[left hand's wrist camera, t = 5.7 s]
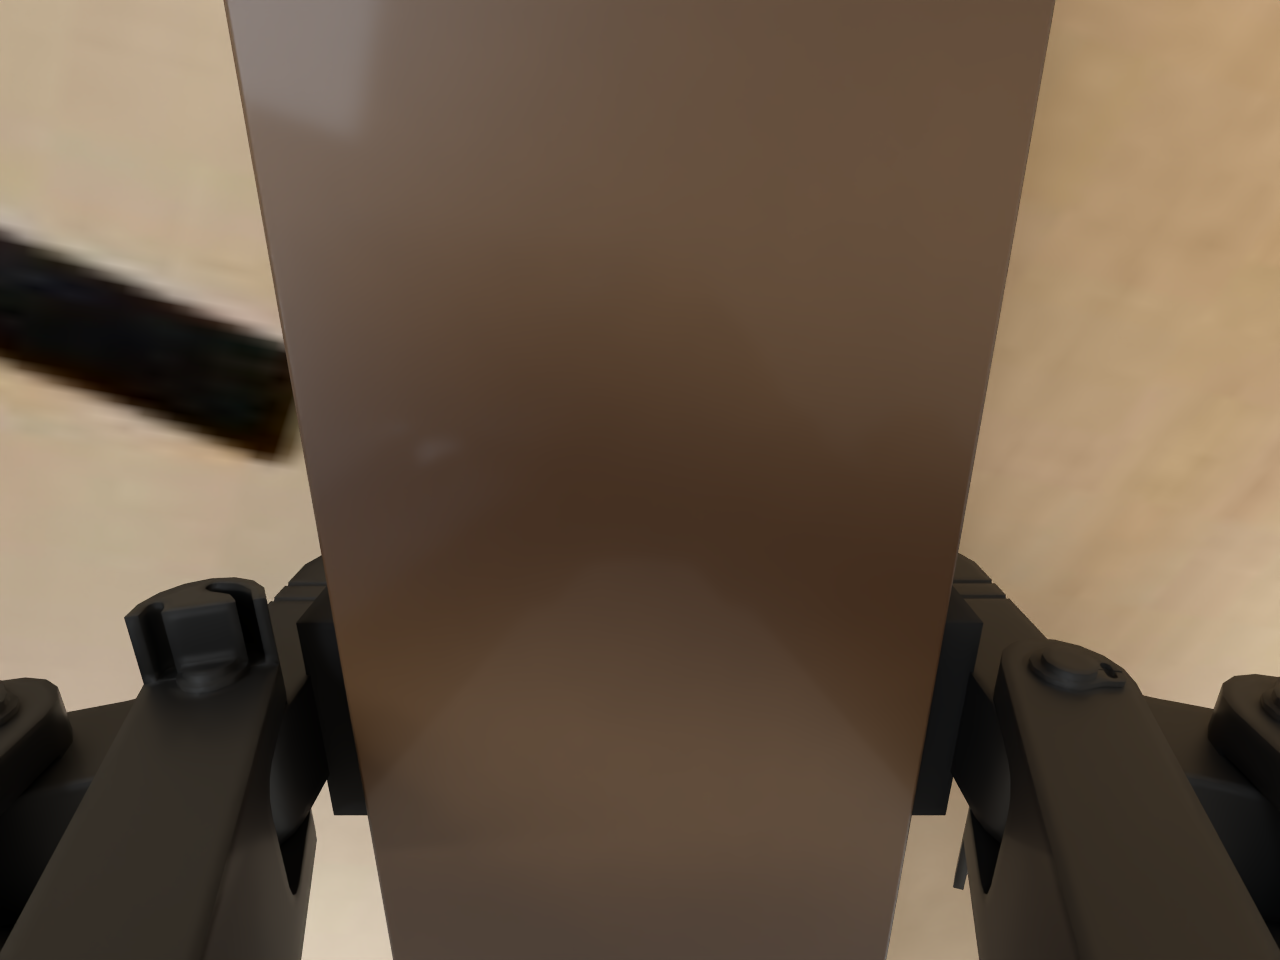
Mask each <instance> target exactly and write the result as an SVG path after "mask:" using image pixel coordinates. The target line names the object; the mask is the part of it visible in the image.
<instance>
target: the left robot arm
mask: <svg viewBox="0 0 1280 960" xmlns="http://www.w3.org/2000/svg"><path fill="white" fill-rule="evenodd" d="M991 581H992V580H991V579H990V578H989V577H988V576H987V575H986V573H985V572H984V571H983V570H982V569H981V568H980V567H979V566H978V565H977V564H976V563H975V562H974V561H972V560H970V559H968V558H967V557H965V556H963V555H961V554H959V553H958V555H957V561H956V566H955V572H954V578H953V583H952V589H951V595H950V600H949V606H948V612H947V617H946V623H945V629H944V634H943V640H942V646H941V651H940V657H939V663H938V668H937V674H936V680H935V685H934V691H933V697H932V702H931V708H930V714H929V719H928V725H927V731H926V736H925V742H924V748H923V753H922V759H921V765H920V770H919V776H918V782H917V787H916V793H915V799H914V804H913V810H912V815H946V810H947V804H948V799H949V794H950V789H951V784H952V779H953V777H954V779H955V781H956V783H957V785H958V786H959V788H960V790H961V792H962V794H963V795H964V797H965V799H966V801H967V803H968V805H969V811H968V816H967V820H966V825H965V830H964V834H963V839H962V844H961V848H960V853H959V858H958V863H957V867H956V872H955V878H954V885H953V887H954V888H958V889H962V890H963V889H964V884H965V879H966V875H967V874H968V878H969V886H970V893H971V901H972V909H973V916H974V924H975V931H976V939H977V946H978V954H979V960H1280V677H1273V676H1266V675H1258V674H1251V675H1240V676H1234V677H1232V678H1231V679H1229V680H1227V681H1226V682H1224V683H1223V684H1222V687H1221V690H1220V693H1219V696H1218V699H1217V702H1216V704H1215V707H1214V709H1210V708H1205V707H1200V706H1194V705H1189V704H1184V703H1178V702H1173V701H1168V700H1162V699H1157V698H1152V697H1148V696H1144V695H1142V693H1141V691H1140V689H1139V687H1138V686H1137V684H1136V682H1135V681H1134V680H1133V679H1132V678H1131V677H1130V676H1129V674H1128V673H1127V672H1126V671H1125V670H1124V669H1123V668H1122V667H1120V666H1119V665H1117V664H1115V663H1114V662H1112V661H1111V660H1109V659H1108V658H1106V657H1105V656H1103V655H1101V654H1098V653H1096V652H1093V651H1091V650H1088V649H1086V648H1084V647H1081V646H1079V645H1074V644H1070V643H1066V642H1062V641H1058V640H1051V639H1047V638H1046V637H1045V636H1044V635H1043V634H1042V633H1041V632H1040V631H1039V630H1038V629H1037V628H1036V627H1035V626H1034V624H1033V623H1032V622H1031V621H1030V620H1029V619H1028V618H1027V617H1026V616H1025V615H1024V614H1023V613H1022V612H1021V611H1020V610H1019V609H1018V607H1017V606H1016V605H1015V604H1014V603H1013V602H1012V601H1011V600H1010V599H1006V595H1005V594H1004V593H1003V592H1002V590H1001V589H1000V588H999V587H998V586H997V585H996V584H995V583H992V582H991ZM124 619H125V622H126V625H127V629H128V632H129V635H130V639H131V642H132V646H133V649H134V652H135V656H136V659H137V662H138V666H139V669H140V673H141V676H142V679H143V683H144V685H143V687H142V689H141V691H140V693H139V694H138V696H137V698H136V699H133V700H129V701H125V702H119V703H114V704H109V705H103V706H98V707H93V708H88V709H82V710H77V711H72V712H66V709H65V706H64V704H63V701H62V698H61V695H60V692H59V689H58V687H57V686H55V685H54V684H52V683H51V682H49V681H48V680H46V679H35V678H19V679H11V680H4V681H1V680H0V960H301V956H302V949H303V941H304V933H305V926H306V918H307V910H308V903H309V895H310V888H311V880H312V872H313V865H314V857H315V850H316V842H317V838H316V831H315V825H314V820H313V816H312V811H311V807H312V806H313V804H314V802H315V800H316V798H317V796H318V795H319V793H320V791H321V789H322V787H323V785H324V784H325V782H326V780H327V782H328V787H329V792H330V797H331V802H332V807H333V812H334V815H368V814H367V808H366V803H365V797H364V792H363V786H362V780H361V775H360V769H359V763H358V758H357V752H356V746H355V741H354V735H353V729H352V724H351V718H350V712H349V707H348V701H347V695H346V690H345V684H344V678H343V673H342V667H341V661H340V656H339V650H338V644H337V639H336V633H335V627H334V622H333V616H332V611H331V605H330V599H329V594H328V588H327V582H326V577H325V571H324V565H323V560H322V555H321V556H320V557H318V558H316V559H314V560H312V561H311V562H309V563H307V564H305V565H304V566H303V567H302V568H301V570H300V571H299V572H298V573H297V574H296V575H295V576H294V577H293V578H292V579H291V580H290V581H289V582H288V586H285V587H284V588H283V589H282V590H281V591H280V592H279V593H278V594H277V595H276V596H275V597H274V601H271V602H270V603H269V604H267V599H266V594H265V590H264V587H262V586H261V585H259V584H258V583H256V582H255V581H253V580H247V579H242V578H236V577H232V578H212V579H206V580H201V581H197V582H192V583H187V584H183V585H180V586H177V587H175V588H172V589H169V590H166V591H163V592H160V593H158V594H156V595H154V596H153V597H151V598H149V599H147V600H145V601H143V602H142V603H140V604H138V605H137V606H136V607H135V608H134V609H133V610H132V611H131V612H129V613H128V614H127V615H126V616H125V617H124Z"/></svg>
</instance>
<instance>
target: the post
mask: <svg viewBox="0 0 1280 960" xmlns="http://www.w3.org/2000/svg"><path fill="white" fill-rule="evenodd" d="M224 5H225V11H226V17H227V22H228V28H229V34H230V39H231V45H232V51H233V56H234V62H235V67H236V73H237V79H238V84H239V90H240V96H241V101H242V107H243V113H244V118H245V124H246V130H247V135H248V141H249V147H250V152H251V158H252V164H253V169H254V175H255V181H256V186H257V192H258V198H259V203H260V209H261V215H262V220H263V226H264V232H265V237H266V243H267V249H268V254H269V260H270V265H271V271H272V277H273V282H274V288H275V294H276V299H277V305H278V311H279V316H280V322H281V328H282V333H283V339H284V345H285V350H286V356H287V362H288V367H289V373H290V379H291V384H292V390H293V396H294V401H295V407H296V413H297V418H298V424H299V429H300V435H301V441H302V446H303V452H304V458H305V463H306V469H307V475H308V480H309V486H310V492H311V497H312V503H313V509H314V514H315V520H316V526H317V531H318V537H319V543H320V548H321V554H322V560H323V565H324V571H325V577H326V582H327V588H328V594H329V599H330V605H331V611H332V616H333V622H334V627H335V633H336V639H337V644H338V650H339V656H340V661H341V667H342V673H343V678H344V684H345V690H346V695H347V701H348V707H349V712H350V718H351V724H352V729H353V735H354V741H355V746H356V752H357V758H358V763H359V769H360V775H361V780H362V786H363V792H364V797H365V803H366V808H367V814H368V820H369V825H370V831H371V837H372V842H373V848H374V854H375V859H376V865H377V871H378V876H379V882H380V888H381V893H382V899H383V905H384V910H385V916H386V922H387V927H388V933H389V939H390V944H391V950H392V956H393V960H886V958H887V952H888V946H889V941H890V935H891V929H892V924H893V918H894V912H895V907H896V901H897V895H898V890H899V884H900V878H901V873H902V867H903V861H904V856H905V850H906V844H907V839H908V833H909V827H910V821H911V816H912V810H913V804H914V799H915V793H916V787H917V782H918V776H919V770H920V765H921V759H922V753H923V748H924V742H925V736H926V731H927V725H928V719H929V714H930V708H931V702H932V697H933V691H934V685H935V680H936V674H937V668H938V663H939V657H940V651H941V646H942V640H943V634H944V629H945V623H946V617H947V612H948V606H949V600H950V595H951V589H952V583H953V578H954V572H955V566H956V561H957V555H958V549H959V544H960V538H961V532H962V527H963V521H964V515H965V510H966V504H967V498H968V493H969V487H970V481H971V475H972V470H973V464H974V458H975V453H976V447H977V441H978V436H979V430H980V424H981V419H982V413H983V407H984V402H985V396H986V390H987V385H988V379H989V373H990V368H991V362H992V356H993V351H994V345H995V339H996V334H997V328H998V322H999V317H1000V311H1001V305H1002V300H1003V294H1004V288H1005V283H1006V277H1007V271H1008V266H1009V260H1010V254H1011V249H1012V243H1013V237H1014V232H1015V226H1016V220H1017V215H1018V209H1019V203H1020V198H1021V192H1022V186H1023V181H1024V175H1025V169H1026V164H1027V158H1028V152H1029V146H1030V141H1031V135H1032V129H1033V124H1034V118H1035V112H1036V107H1037V101H1038V95H1039V90H1040V84H1041V78H1042V73H1043V67H1044V61H1045V56H1046V50H1047V44H1048V39H1049V33H1050V27H1051V22H1052V16H1053V10H1054V5H1055V0H224Z"/></svg>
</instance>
